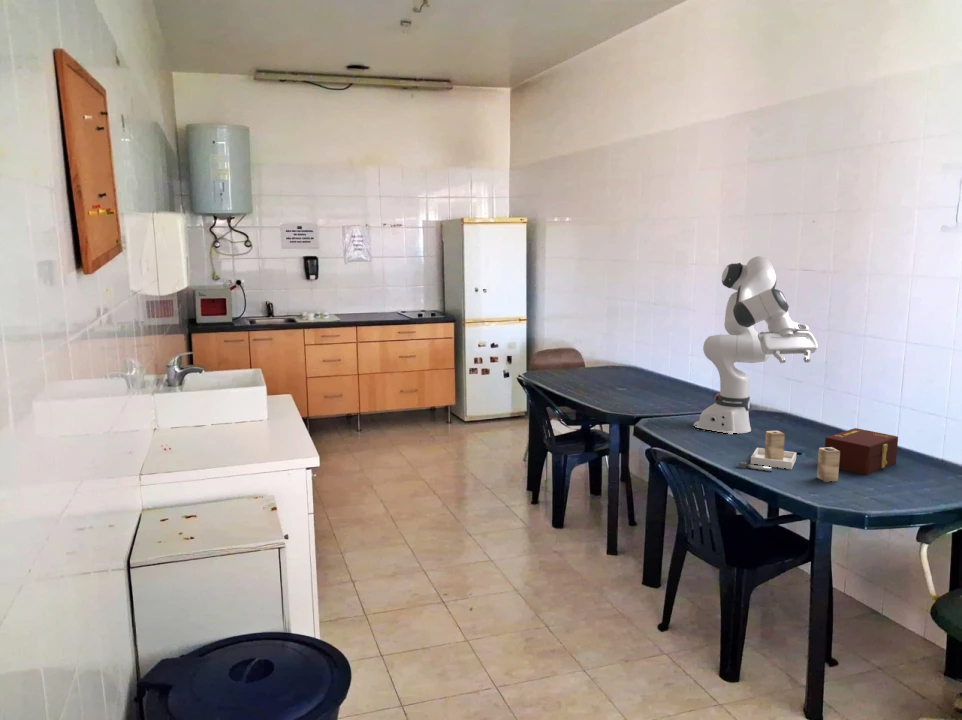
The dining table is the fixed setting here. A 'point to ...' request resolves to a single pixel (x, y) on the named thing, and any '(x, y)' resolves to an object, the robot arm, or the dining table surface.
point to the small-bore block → (774, 445)
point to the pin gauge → (754, 466)
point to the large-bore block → (828, 464)
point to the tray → (759, 459)
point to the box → (864, 450)
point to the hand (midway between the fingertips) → (795, 361)
